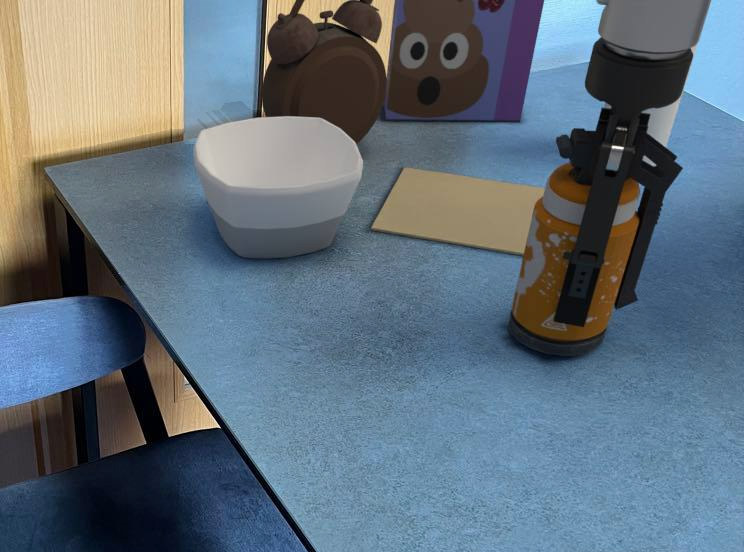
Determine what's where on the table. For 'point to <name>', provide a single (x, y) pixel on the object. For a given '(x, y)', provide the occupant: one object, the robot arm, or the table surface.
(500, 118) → the cereal box
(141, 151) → the table surface
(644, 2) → the robot arm
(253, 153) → the bowl
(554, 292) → the canister
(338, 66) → the alarm clock
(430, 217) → the mat
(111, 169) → the table surface
